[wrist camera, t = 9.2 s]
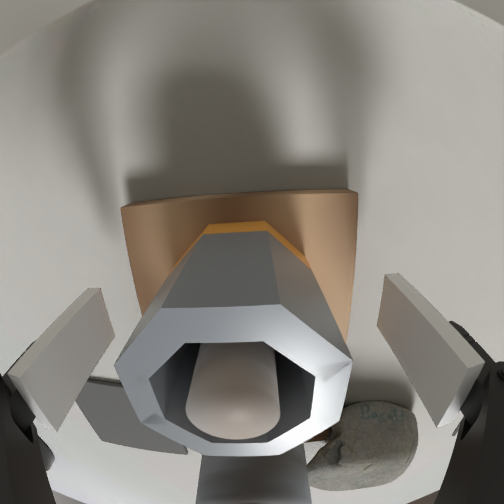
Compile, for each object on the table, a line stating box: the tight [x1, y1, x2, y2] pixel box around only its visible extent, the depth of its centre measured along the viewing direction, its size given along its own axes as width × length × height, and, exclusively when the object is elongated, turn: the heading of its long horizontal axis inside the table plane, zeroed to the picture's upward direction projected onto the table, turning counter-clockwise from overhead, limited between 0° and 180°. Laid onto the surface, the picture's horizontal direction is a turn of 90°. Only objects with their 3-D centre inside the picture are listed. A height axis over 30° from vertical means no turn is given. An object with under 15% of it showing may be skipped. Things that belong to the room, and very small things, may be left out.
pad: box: [75, 379, 188, 455], centre depth 21 cm, size 10×10×1 cm
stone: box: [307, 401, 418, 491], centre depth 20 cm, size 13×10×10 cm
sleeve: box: [114, 221, 353, 456], centre depth 11 cm, size 7×7×8 cm
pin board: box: [120, 189, 358, 504], centre depth 13 cm, size 12×20×10 cm, turn 3°
